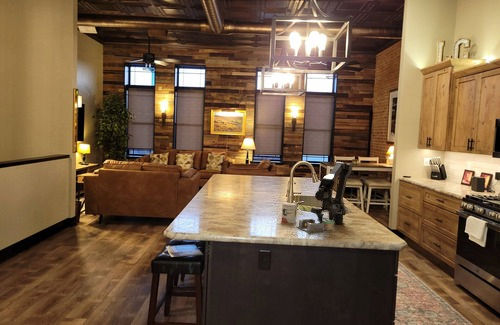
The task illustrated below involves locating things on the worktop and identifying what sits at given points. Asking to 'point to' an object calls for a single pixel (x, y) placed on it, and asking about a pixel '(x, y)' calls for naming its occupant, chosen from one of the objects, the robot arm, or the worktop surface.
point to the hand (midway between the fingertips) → (325, 224)
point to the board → (326, 221)
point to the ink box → (289, 212)
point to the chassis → (311, 226)
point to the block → (328, 226)
